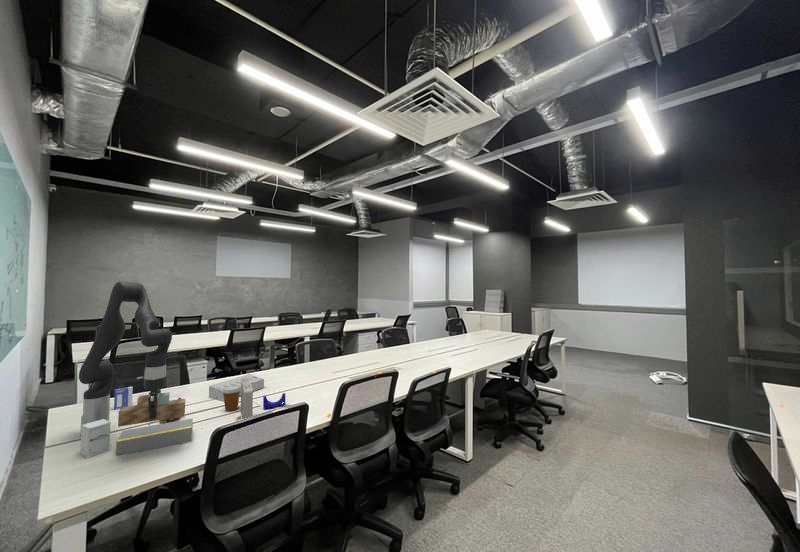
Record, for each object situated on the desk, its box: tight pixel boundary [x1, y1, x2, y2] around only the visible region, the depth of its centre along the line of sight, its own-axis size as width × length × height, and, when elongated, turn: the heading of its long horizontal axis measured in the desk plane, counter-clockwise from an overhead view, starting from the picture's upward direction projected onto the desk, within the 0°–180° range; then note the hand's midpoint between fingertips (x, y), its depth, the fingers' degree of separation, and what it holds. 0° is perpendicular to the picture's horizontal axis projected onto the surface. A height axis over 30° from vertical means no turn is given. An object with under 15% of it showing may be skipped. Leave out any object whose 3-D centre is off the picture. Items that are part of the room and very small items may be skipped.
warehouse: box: [208, 373, 265, 402], centre depth 212 cm, size 30×14×8 cm, turn 155°
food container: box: [159, 396, 183, 424], centre depth 166 cm, size 12×6×10 cm, turn 168°
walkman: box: [113, 386, 134, 411], centre depth 182 cm, size 8×3×12 cm, turn 134°
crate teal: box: [157, 391, 170, 406], centre depth 138 cm, size 4×4×4 cm
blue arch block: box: [262, 392, 286, 410], centre depth 187 cm, size 12×4×6 cm, turn 115°
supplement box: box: [79, 419, 111, 459], centre depth 134 cm, size 7×7×13 cm
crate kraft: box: [136, 394, 149, 408], centre depth 134 cm, size 4×4×4 cm
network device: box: [234, 378, 254, 422], centre depth 164 cm, size 26×9×20 cm, turn 30°
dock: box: [115, 418, 194, 456], centre depth 143 cm, size 26×12×6 cm, turn 121°
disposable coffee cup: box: [222, 385, 241, 411], centre depth 183 cm, size 10×10×12 cm
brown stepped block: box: [117, 398, 186, 428], centre depth 136 cm, size 22×6×6 cm, turn 120°
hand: (153, 415), depth 136 cm, fingers closed on brown stepped block, 5 cm apart
